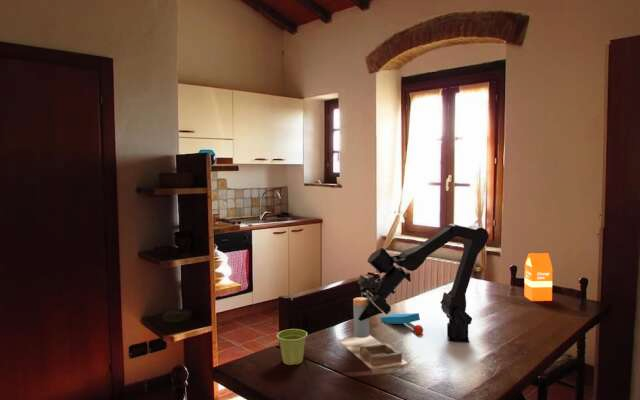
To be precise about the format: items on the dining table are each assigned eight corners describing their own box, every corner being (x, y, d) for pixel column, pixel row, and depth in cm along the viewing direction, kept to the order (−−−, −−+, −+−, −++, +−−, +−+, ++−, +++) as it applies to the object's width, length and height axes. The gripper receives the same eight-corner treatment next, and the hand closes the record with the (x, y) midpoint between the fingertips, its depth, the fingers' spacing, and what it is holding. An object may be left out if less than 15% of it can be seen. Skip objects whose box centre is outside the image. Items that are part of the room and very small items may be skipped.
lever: (383, 336, 182) (415, 336, 167) (380, 317, 183) (411, 316, 168) (397, 332, 186) (429, 332, 171) (394, 314, 187) (425, 312, 172)
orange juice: (552, 300, 207) (552, 254, 206) (531, 301, 207) (532, 255, 206) (543, 295, 215) (544, 251, 214) (524, 296, 215) (524, 251, 214)
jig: (337, 342, 163) (337, 332, 163) (369, 337, 168) (369, 327, 167) (372, 373, 139) (372, 361, 139) (408, 366, 143) (408, 355, 143)
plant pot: (296, 370, 142) (295, 341, 142) (271, 363, 147) (270, 336, 147) (313, 359, 150) (313, 332, 149) (289, 353, 155) (288, 327, 154)
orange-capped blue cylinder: (367, 331, 162) (366, 296, 161) (371, 337, 157) (370, 301, 156) (352, 333, 161) (351, 298, 160) (356, 338, 156) (355, 302, 155)
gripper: (364, 260, 167) (334, 294, 166) (380, 272, 149) (346, 310, 148) (387, 281, 169) (357, 314, 168) (405, 295, 151) (371, 333, 150)
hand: (357, 317), depth 158 cm, fingers closed on orange-capped blue cylinder, 5 cm apart
